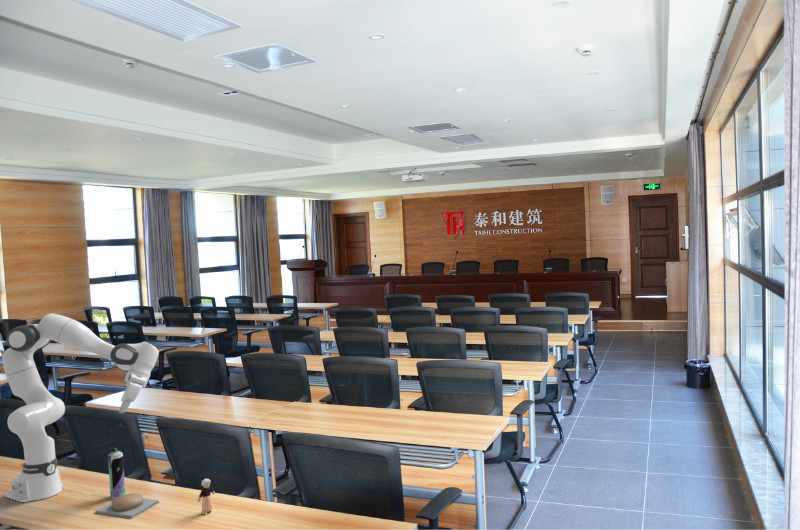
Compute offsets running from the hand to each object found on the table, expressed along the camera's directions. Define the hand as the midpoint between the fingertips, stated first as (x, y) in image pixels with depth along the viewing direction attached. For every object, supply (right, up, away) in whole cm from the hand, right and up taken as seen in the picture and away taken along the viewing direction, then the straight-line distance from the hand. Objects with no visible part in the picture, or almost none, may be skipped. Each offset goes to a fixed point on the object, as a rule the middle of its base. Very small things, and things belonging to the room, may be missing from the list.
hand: (122, 412), depth 248 cm
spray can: (-1, -34, -1) cm, 34 cm away
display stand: (+8, -34, -13) cm, 38 cm away
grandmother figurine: (+42, -33, -20) cm, 57 cm away
